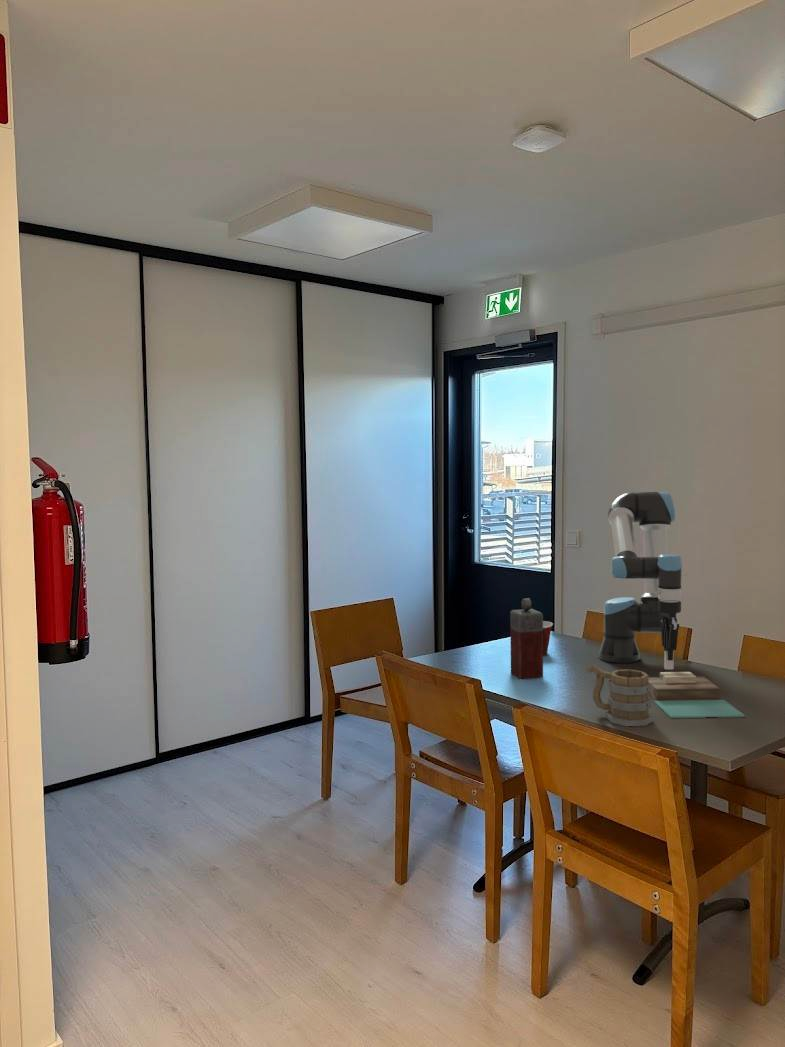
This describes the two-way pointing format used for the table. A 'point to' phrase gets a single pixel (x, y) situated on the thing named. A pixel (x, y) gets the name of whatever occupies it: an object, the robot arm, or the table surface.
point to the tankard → (624, 696)
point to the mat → (698, 708)
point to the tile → (677, 677)
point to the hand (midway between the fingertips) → (668, 668)
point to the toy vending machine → (527, 642)
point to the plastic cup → (547, 630)
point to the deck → (683, 690)
